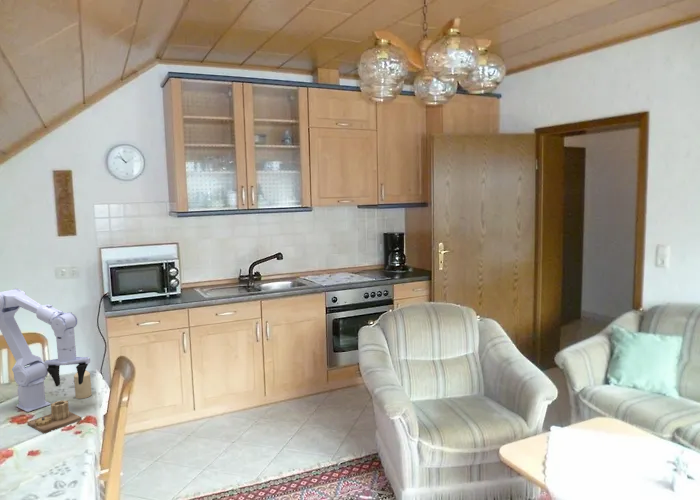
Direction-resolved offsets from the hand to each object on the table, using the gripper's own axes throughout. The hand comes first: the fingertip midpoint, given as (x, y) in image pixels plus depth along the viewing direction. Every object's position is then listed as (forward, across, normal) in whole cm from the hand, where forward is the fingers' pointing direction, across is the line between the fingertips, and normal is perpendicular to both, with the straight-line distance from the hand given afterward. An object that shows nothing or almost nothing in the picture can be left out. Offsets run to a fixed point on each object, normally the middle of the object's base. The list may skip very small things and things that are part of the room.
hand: (69, 384), depth 180 cm
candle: (+10, 0, +13) cm, 16 cm away
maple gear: (+8, 0, -9) cm, 12 cm away
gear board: (+9, -2, -10) cm, 14 cm away
